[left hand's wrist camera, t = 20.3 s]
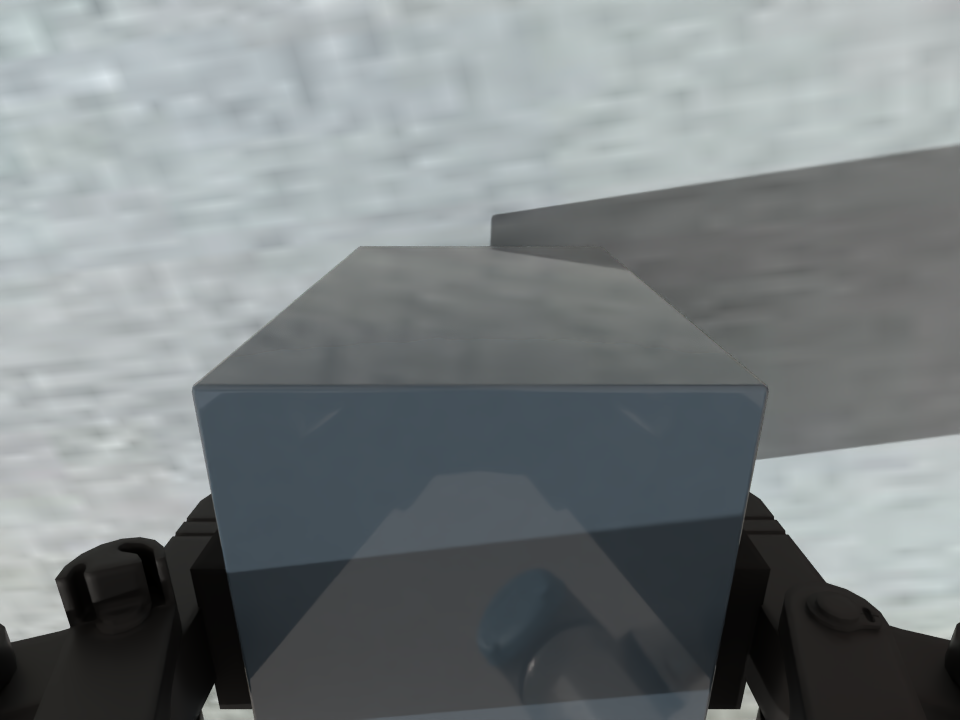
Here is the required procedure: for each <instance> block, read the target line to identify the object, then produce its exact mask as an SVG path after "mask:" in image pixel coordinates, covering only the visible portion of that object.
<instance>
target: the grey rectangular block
mask: <svg viewBox="0 0 960 720" xmlns="http://www.w3.org/2000/svg"><path fill="white" fill-rule="evenodd" d="M192 395H193V400H194V405H195V410H196V416H197V421H198V426H199V431H200V437H201V442H202V447H203V452H204V458H205V463H206V468H207V473H208V479H209V484H210V489H211V494H212V500H213V505H214V510H215V515H216V521H217V526H218V531H219V536H220V541H221V547H222V552H223V557H224V562H225V568H226V573H227V578H228V583H229V589H230V594H231V599H232V604H233V610H234V615H235V620H236V625H237V631H238V636H239V641H240V646H241V651H242V657H243V662H244V667H245V672H246V678H247V683H248V688H249V693H250V699H251V704H252V709H253V714H254V720H706V716H707V711H708V706H709V700H710V695H711V690H712V685H713V680H714V674H715V669H716V664H717V659H718V653H719V648H720V643H721V638H722V633H723V627H724V622H725V617H726V612H727V606H728V601H729V596H730V591H731V586H732V580H733V575H734V570H735V565H736V559H737V554H738V549H739V544H740V539H741V533H742V528H743V523H744V518H745V512H746V507H747V502H748V497H749V491H750V486H751V481H752V476H753V471H754V465H755V460H756V455H757V450H758V444H759V439H760V434H761V429H762V424H763V418H764V413H765V408H766V403H767V397H768V387H767V385H766V384H765V383H763V382H762V381H761V380H760V379H759V378H757V377H756V376H755V375H754V374H753V373H751V372H750V371H749V370H748V369H747V368H746V367H744V366H743V365H742V364H741V363H740V362H738V361H737V360H736V359H735V358H734V357H732V356H731V355H730V354H729V353H728V352H726V351H725V350H724V349H723V348H722V347H721V346H719V345H718V344H717V343H716V342H715V341H713V340H712V339H711V338H710V337H709V336H707V335H706V334H705V333H704V332H703V331H701V330H700V329H699V328H698V327H697V326H696V325H694V324H693V323H692V322H691V321H690V320H688V319H687V318H686V317H685V316H684V315H682V314H681V313H680V312H679V311H678V310H676V309H675V308H674V307H673V306H672V305H671V304H669V303H668V302H667V301H666V300H665V299H663V298H662V297H661V296H660V295H659V294H657V293H656V292H655V291H654V290H653V289H651V288H650V287H649V286H648V285H647V284H646V283H644V282H643V281H642V280H641V279H640V278H638V277H637V276H636V275H635V274H634V273H632V272H631V271H630V270H629V269H628V268H626V267H625V266H624V265H623V264H622V263H621V262H619V261H618V260H617V259H616V258H615V257H613V256H612V255H611V254H610V253H609V252H607V251H606V250H605V249H604V248H603V247H601V246H360V247H358V248H357V249H356V250H355V251H353V252H352V253H351V254H350V255H349V256H347V257H346V258H345V259H344V260H343V261H341V262H340V263H339V264H338V265H337V266H335V267H334V268H333V269H332V270H331V271H329V272H328V273H327V274H326V275H325V276H323V277H322V278H321V279H320V280H319V281H317V282H316V283H315V284H314V285H313V286H311V287H310V288H309V289H308V290H307V291H306V292H304V293H303V294H302V295H301V296H300V297H298V298H297V299H296V300H295V301H294V302H292V303H291V304H290V305H289V306H288V307H286V308H285V309H284V310H283V311H282V312H280V313H279V314H278V315H277V316H276V317H274V318H273V319H272V320H271V321H270V322H268V323H267V324H266V325H265V326H264V327H262V328H261V329H260V330H259V331H258V332H257V333H255V334H254V335H253V336H252V337H251V338H249V339H248V340H247V341H246V342H245V343H243V344H242V345H241V346H240V347H239V348H237V349H236V350H235V351H234V352H233V353H231V354H230V355H229V356H228V357H227V358H225V359H224V360H223V361H222V362H221V363H219V364H218V365H217V366H216V367H215V368H213V369H212V370H211V371H210V372H209V373H207V374H206V375H205V376H204V377H203V378H202V379H200V380H199V381H198V382H197V383H196V384H194V385H193V388H192Z"/></svg>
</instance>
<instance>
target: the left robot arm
mask: <svg viewBox="0 0 960 720" xmlns="http://www.w3.org/2000/svg"><path fill="white" fill-rule="evenodd" d="M55 580H56V583H57V587H58V590H59V593H60V596H61V599H62V602H63V605H64V608H65V611H66V615H67V618H68V621H69V624H70V628H69V629H66V630H63V631H59V632H55V633H50V634H46V635H42V636H37V637H33V638H29V639H24V640H20V641H16V642H10V640H9V637H8V634H7V631H6V629H5V627H4V626H3V625H1V624H0V720H204V718H203V714H202V708H203V706H204V703H205V701H206V699H207V697H208V695H209V693H210V691H211V689H212V687H213V685H214V683H215V687H216V692H217V697H218V701H219V706H220V709H252V704H251V699H250V693H249V688H248V683H247V678H246V672H245V667H244V662H243V657H242V651H241V646H240V641H239V636H238V631H237V625H236V620H235V615H234V610H233V604H232V599H231V594H230V589H229V583H228V578H227V573H226V568H225V562H224V557H223V552H222V547H221V541H220V536H219V531H218V526H217V521H216V515H215V510H214V505H213V500H212V494H210V495H209V496H207V497H206V498H204V499H203V500H201V501H200V502H199V504H198V505H197V506H196V507H195V509H194V510H193V511H192V513H191V514H190V515H189V516H188V518H187V522H184V523H183V524H182V525H181V527H180V528H179V529H178V530H177V532H176V535H175V536H173V537H172V538H171V539H170V541H169V542H168V543H167V544H166V546H165V547H163V546H162V545H161V544H159V543H158V542H157V541H156V540H152V539H147V538H142V537H137V538H125V539H119V540H116V541H112V542H109V543H105V544H102V545H99V546H97V547H95V548H93V549H91V550H89V551H87V552H85V553H83V554H81V555H80V556H78V557H77V558H75V559H74V560H73V561H71V562H70V563H69V564H67V565H66V566H65V567H64V568H63V570H62V571H61V572H60V573H59V575H58V576H57V577H56V579H55ZM746 682H747V684H748V686H749V688H750V690H751V692H752V694H753V696H754V698H755V700H756V702H757V704H758V706H759V709H758V714H757V718H756V720H960V623H958V624H957V625H956V628H955V630H954V633H953V636H952V638H951V640H947V639H942V638H938V637H933V636H929V635H925V634H920V633H916V632H912V631H907V630H903V629H899V628H896V627H893V626H889V624H888V623H887V621H886V620H885V618H884V617H883V615H882V614H881V612H880V611H878V610H877V609H876V608H875V607H874V606H872V605H871V604H870V603H869V602H868V601H867V600H865V599H864V598H862V597H860V596H858V595H856V594H854V593H852V592H851V591H849V590H847V589H844V588H841V587H838V586H835V585H832V584H828V583H826V582H825V580H824V579H823V578H822V577H821V575H820V574H819V573H818V572H817V570H816V569H815V568H814V567H813V565H812V564H811V563H810V561H809V560H808V559H807V558H806V556H805V555H804V554H803V553H802V551H801V550H800V549H799V548H798V546H797V545H796V544H795V543H794V541H793V540H792V539H791V537H790V536H789V535H786V534H785V530H784V529H783V527H782V526H781V525H780V524H779V522H778V521H777V520H774V516H773V515H772V513H771V512H770V511H769V510H768V508H767V507H766V506H765V505H764V503H763V502H762V501H761V499H759V498H758V497H756V496H755V495H753V494H752V493H750V492H749V497H748V502H747V507H746V512H745V518H744V523H743V528H742V533H741V539H740V544H739V549H738V554H737V559H736V565H735V570H734V575H733V580H732V586H731V591H730V596H729V601H728V606H727V612H726V617H725V622H724V627H723V633H722V638H721V643H720V648H719V653H718V659H717V664H716V669H715V674H714V680H713V685H712V690H711V695H710V700H709V706H708V709H740V708H741V703H742V699H743V694H744V689H745V685H746Z"/></svg>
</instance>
